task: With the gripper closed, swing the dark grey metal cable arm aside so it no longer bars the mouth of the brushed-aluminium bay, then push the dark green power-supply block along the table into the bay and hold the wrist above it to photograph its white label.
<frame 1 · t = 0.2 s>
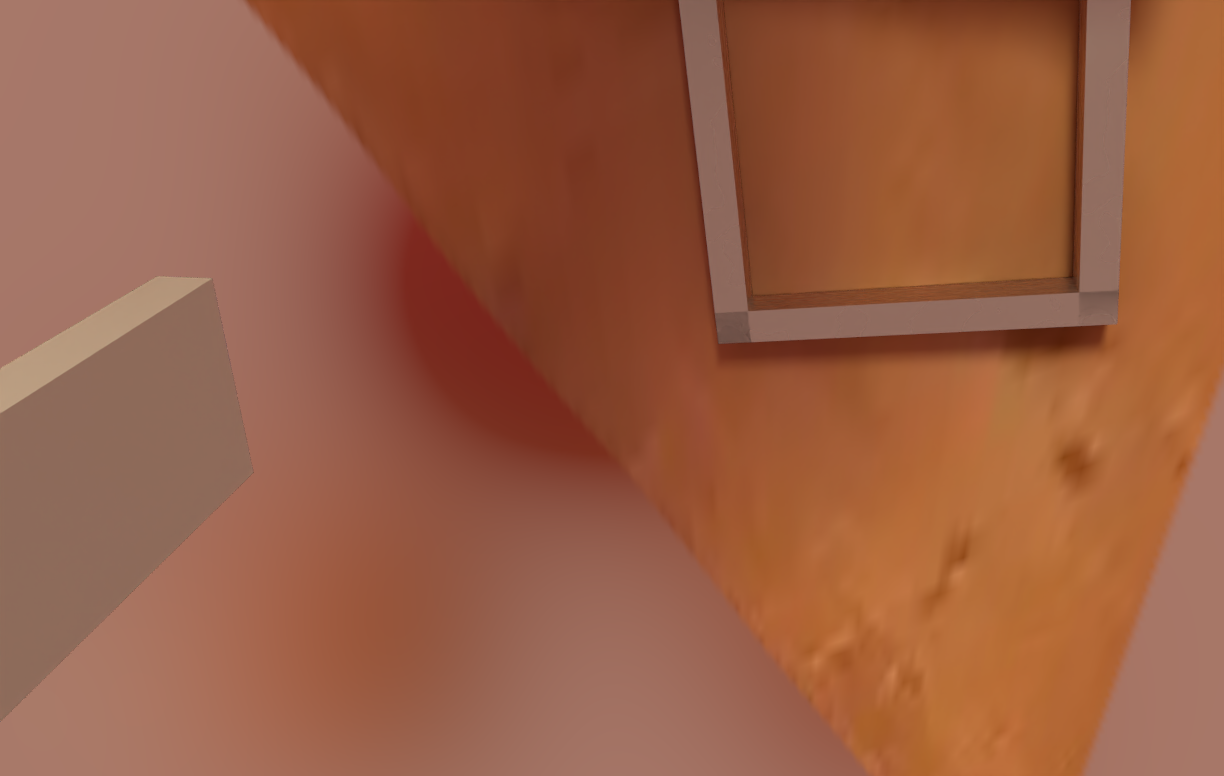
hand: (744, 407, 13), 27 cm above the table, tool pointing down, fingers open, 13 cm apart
bay: (898, 87, 37), on the table
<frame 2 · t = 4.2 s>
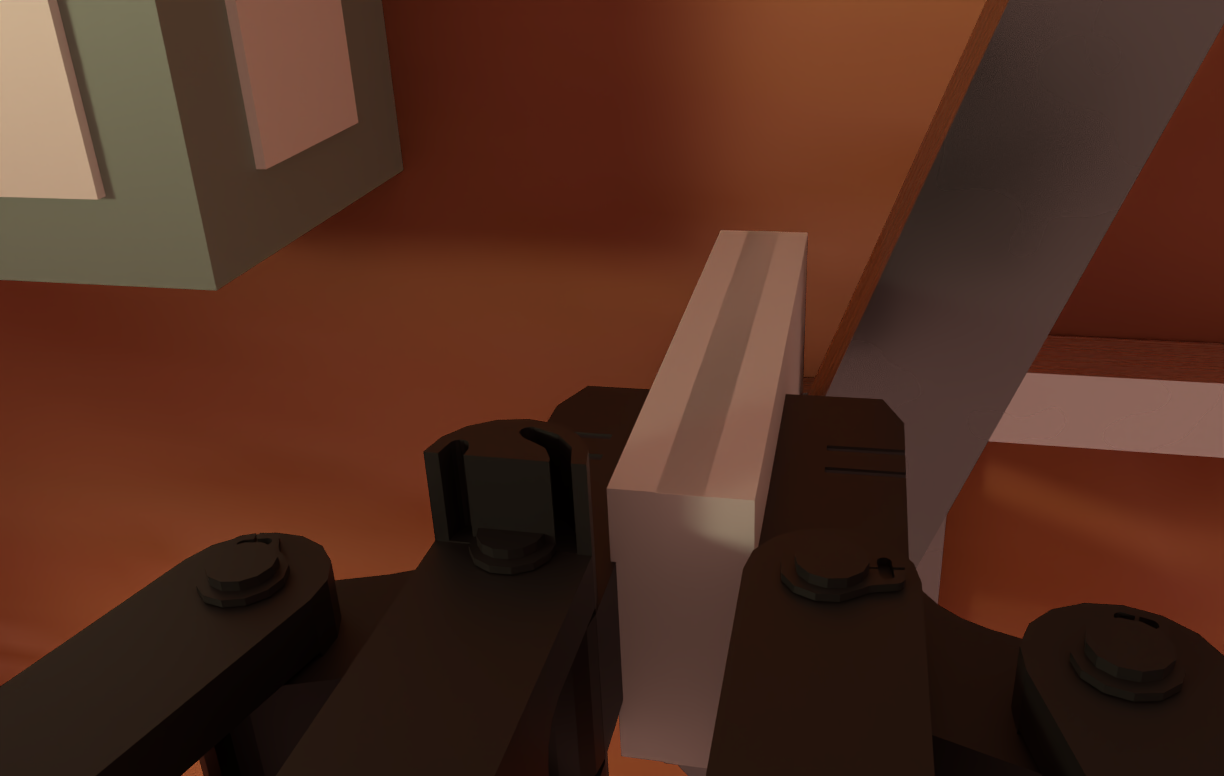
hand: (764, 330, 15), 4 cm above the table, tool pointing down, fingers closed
post: (801, 501, 20), on the table
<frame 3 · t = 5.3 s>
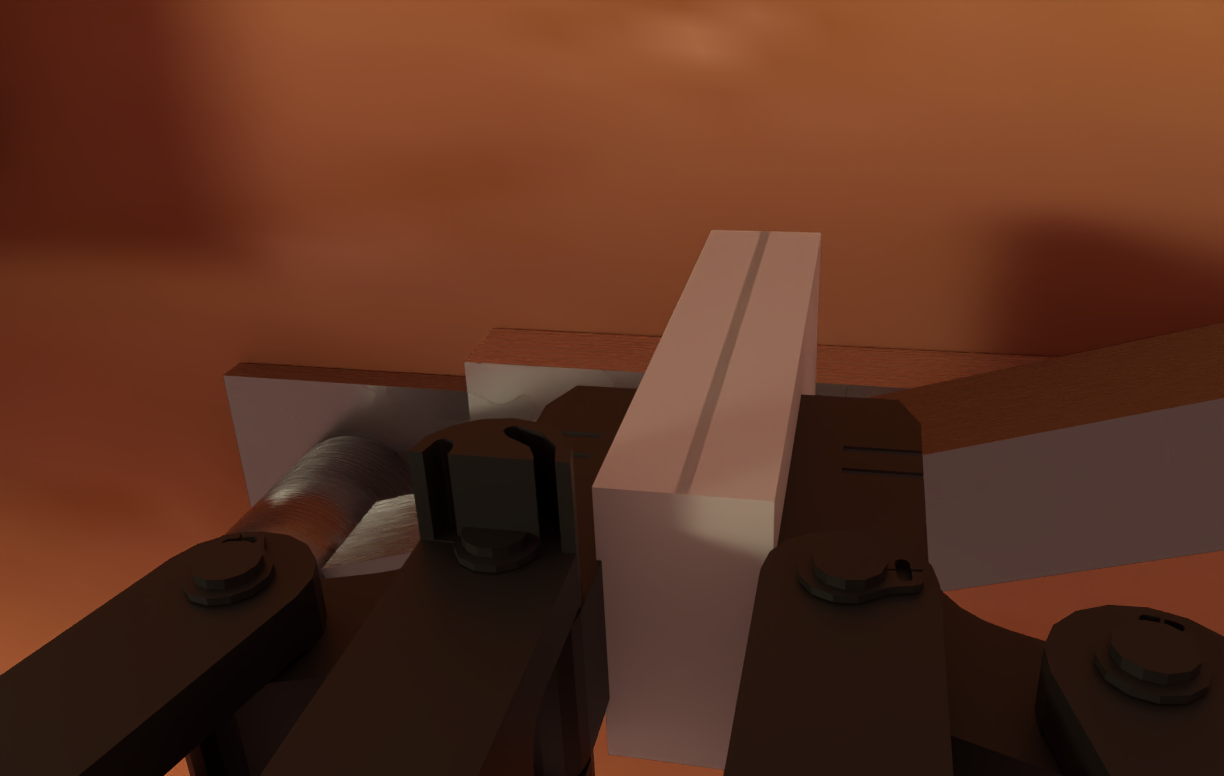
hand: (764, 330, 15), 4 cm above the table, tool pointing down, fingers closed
post: (375, 484, 22), on the table
cable arm: (850, 499, 15), point 4 cm above the table, hinge at 17.4°, touching gripper
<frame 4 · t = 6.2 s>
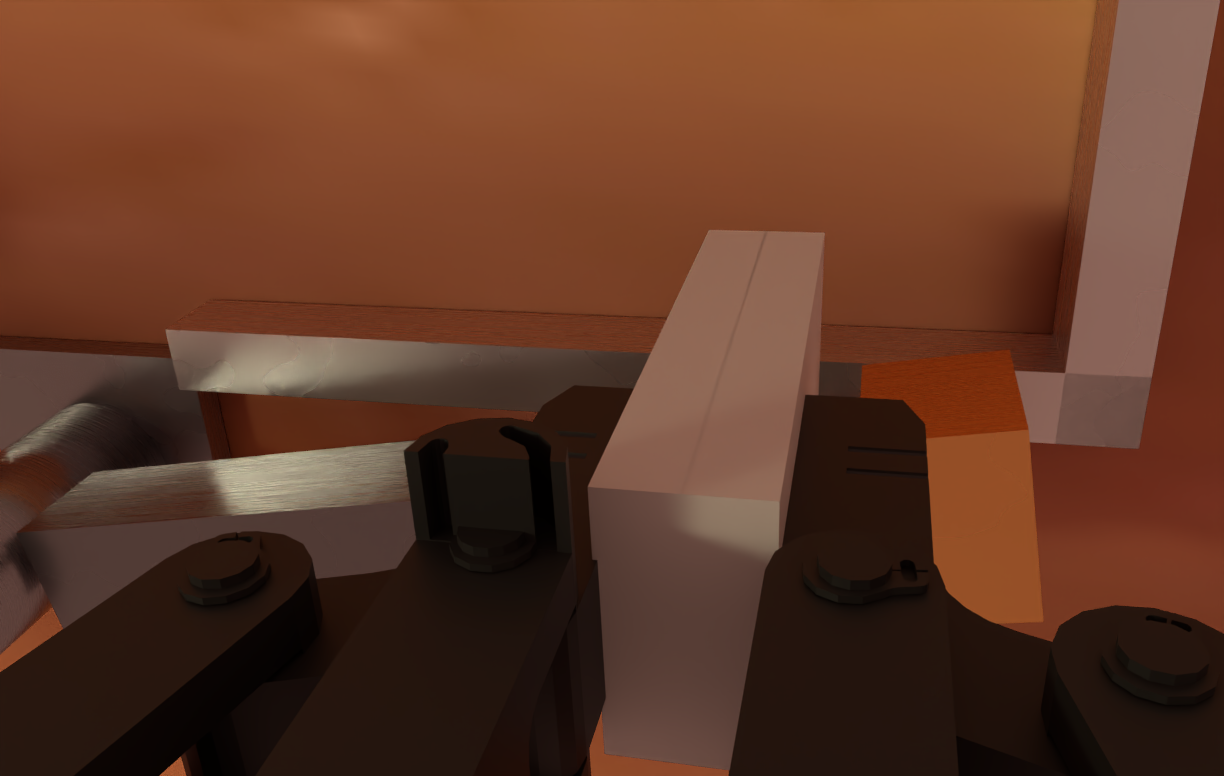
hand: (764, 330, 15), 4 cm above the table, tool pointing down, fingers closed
post: (124, 450, 23), on the table
cable arm: (490, 520, 17), point 4 cm above the table, hinge at 9.9°, touching gripper
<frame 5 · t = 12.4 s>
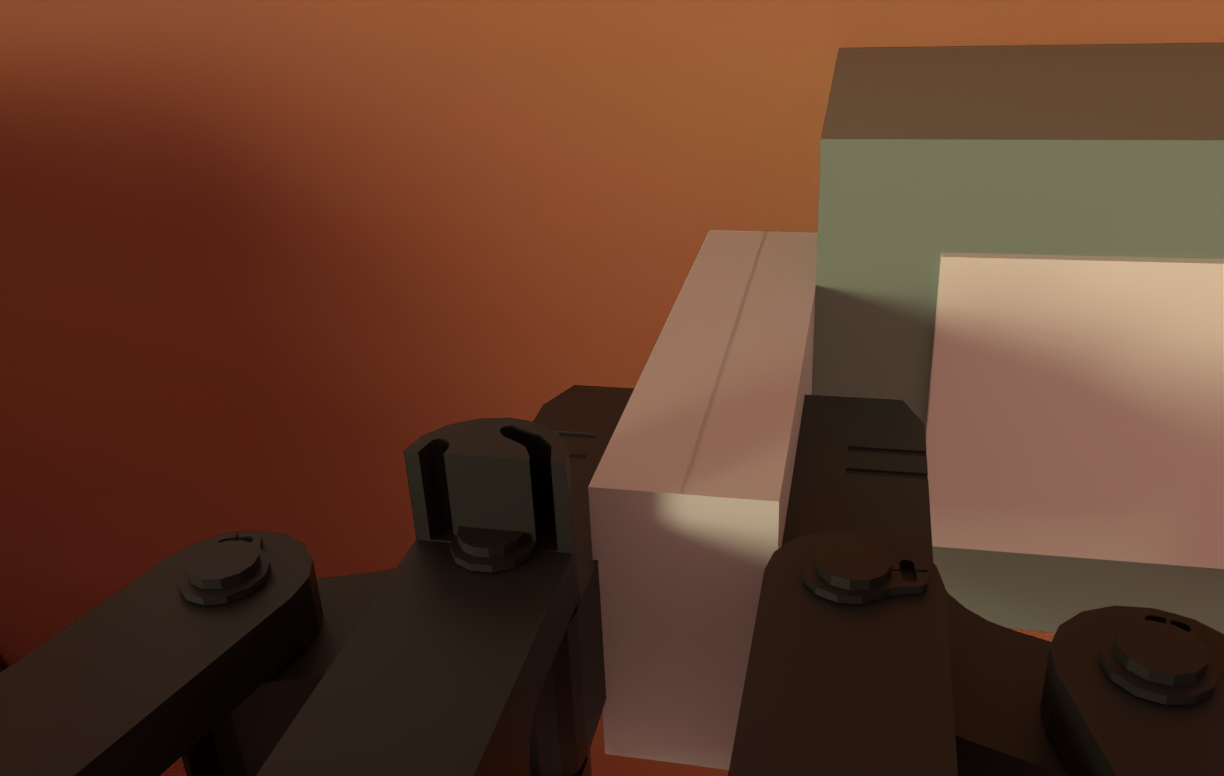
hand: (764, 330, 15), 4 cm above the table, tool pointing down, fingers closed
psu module: (1058, 242, 17), on the table, touching gripper
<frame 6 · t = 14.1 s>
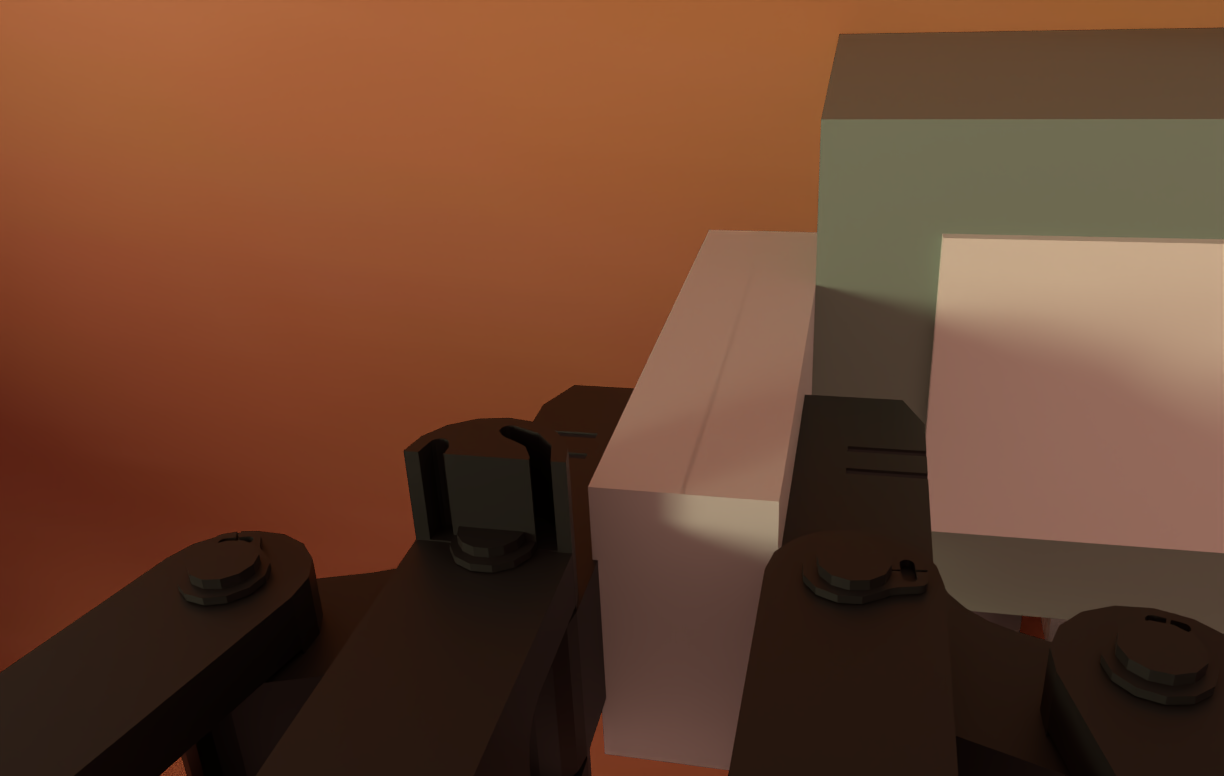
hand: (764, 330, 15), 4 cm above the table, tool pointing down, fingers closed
post: (871, 678, 22), on the table
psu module: (1060, 230, 17), on the table, touching gripper
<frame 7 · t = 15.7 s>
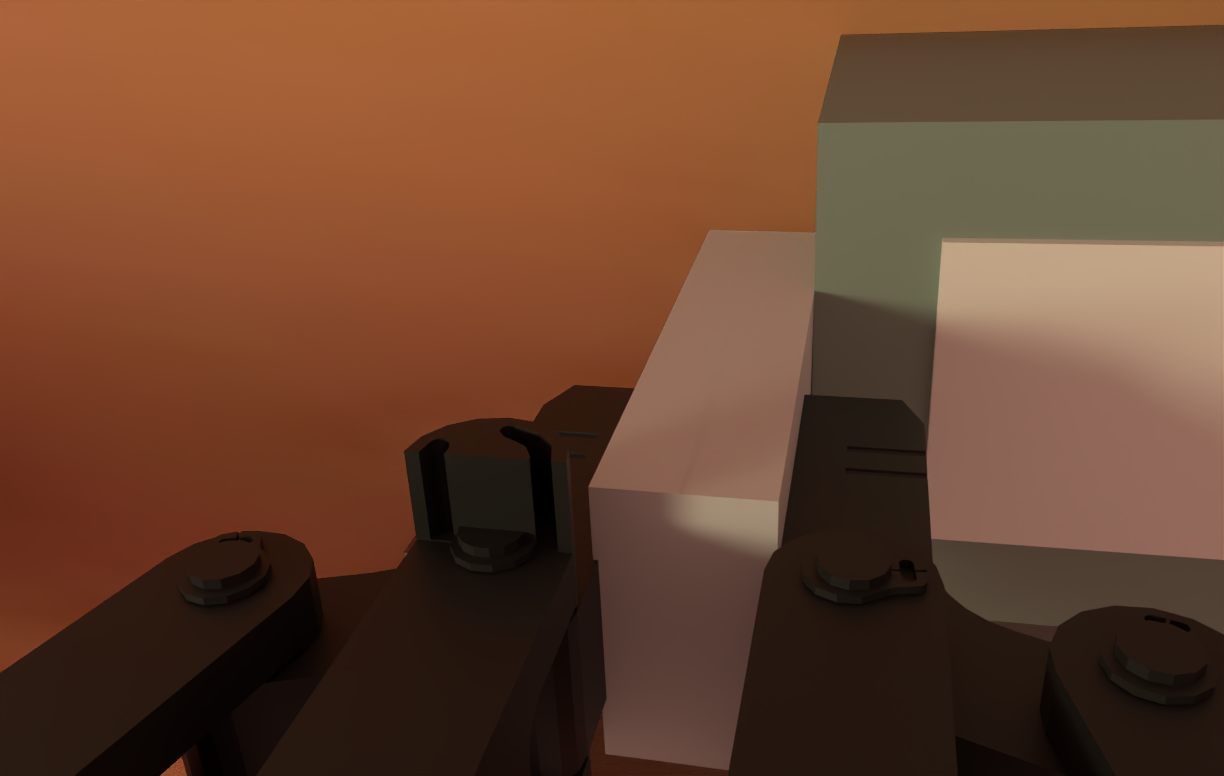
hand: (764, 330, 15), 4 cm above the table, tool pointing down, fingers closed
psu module: (1066, 231, 17), on the table, touching gripper
bay: (1200, 248, 17), on the table
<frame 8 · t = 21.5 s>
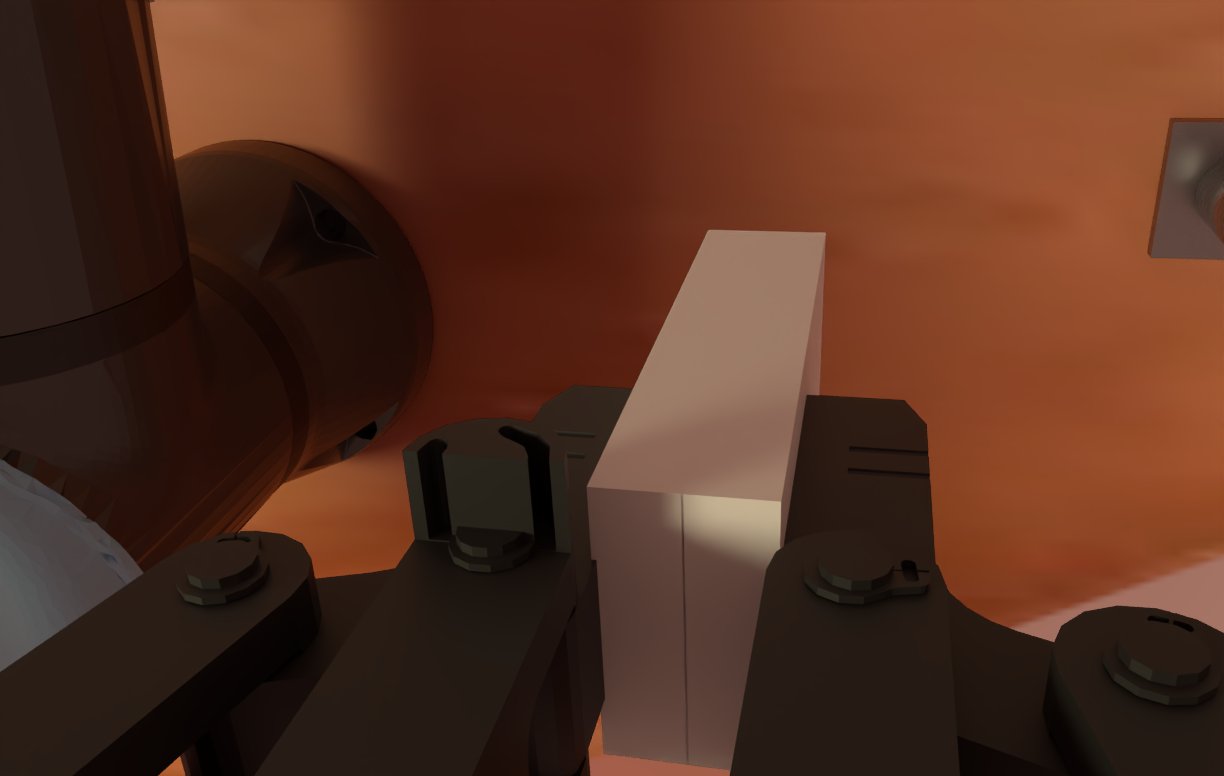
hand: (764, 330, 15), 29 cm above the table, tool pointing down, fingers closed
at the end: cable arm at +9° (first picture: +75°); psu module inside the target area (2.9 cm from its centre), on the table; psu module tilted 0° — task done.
